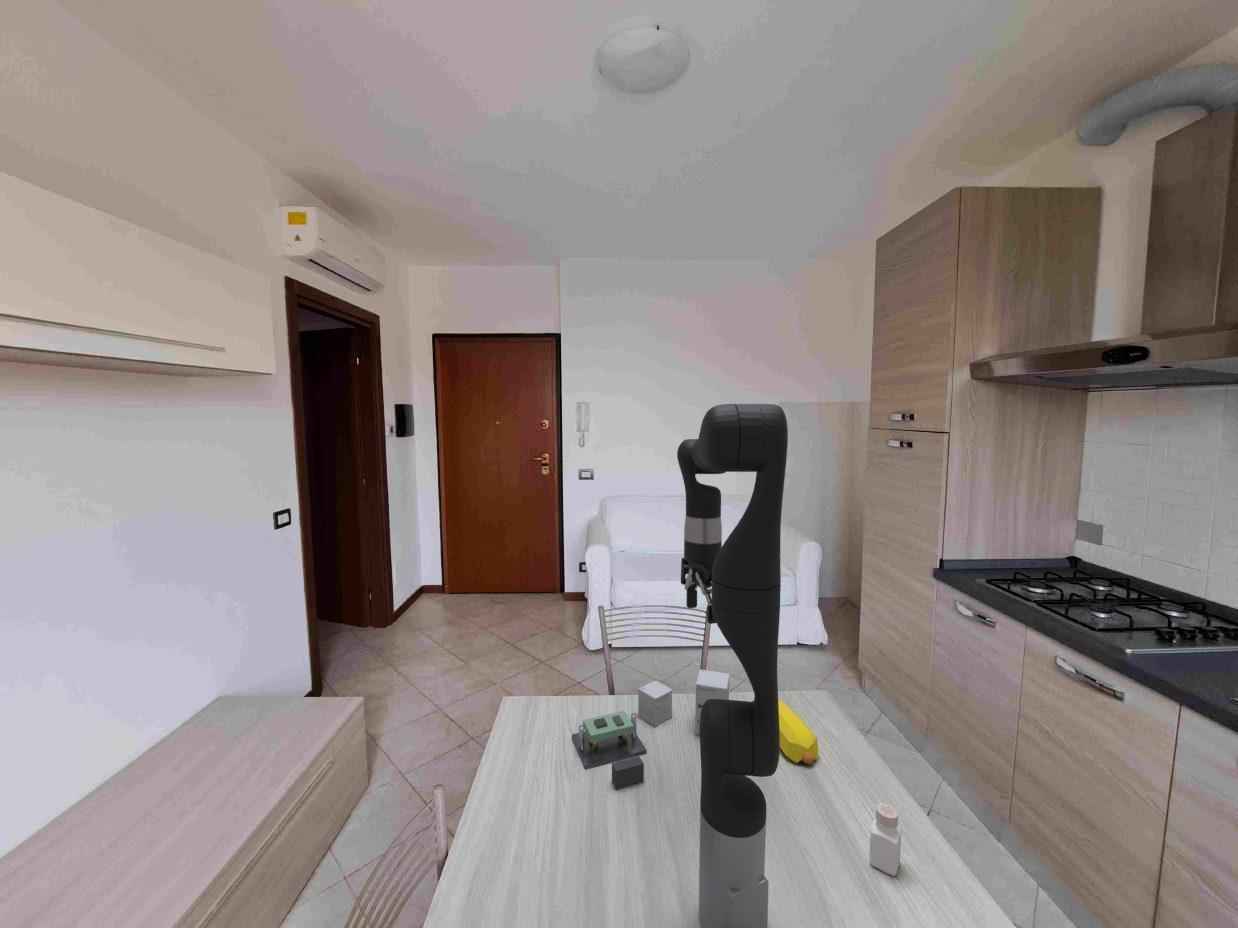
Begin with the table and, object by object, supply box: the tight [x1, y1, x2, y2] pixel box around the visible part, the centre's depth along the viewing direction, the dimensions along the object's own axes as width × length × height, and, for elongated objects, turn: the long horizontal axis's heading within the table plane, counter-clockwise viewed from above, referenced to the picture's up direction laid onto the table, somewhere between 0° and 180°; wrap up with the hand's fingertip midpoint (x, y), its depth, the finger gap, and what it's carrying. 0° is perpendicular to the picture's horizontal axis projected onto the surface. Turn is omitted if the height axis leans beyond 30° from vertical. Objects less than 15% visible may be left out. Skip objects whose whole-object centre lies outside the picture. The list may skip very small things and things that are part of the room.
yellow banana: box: [778, 699, 819, 765], centre depth 112 cm, size 18×7×8 cm
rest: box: [611, 755, 645, 791], centre depth 100 cm, size 6×2×4 cm, turn 110°
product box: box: [637, 680, 673, 728], centre depth 121 cm, size 6×6×7 cm
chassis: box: [571, 713, 647, 770], centre depth 111 cm, size 14×11×6 cm
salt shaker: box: [868, 802, 902, 877], centre depth 81 cm, size 4×4×10 cm
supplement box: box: [694, 668, 731, 736], centre depth 116 cm, size 7×7×13 cm
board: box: [582, 710, 634, 743], centre depth 111 cm, size 10×6×2 cm, turn 111°
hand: (701, 614), depth 101 cm, fingers open, 8 cm apart
